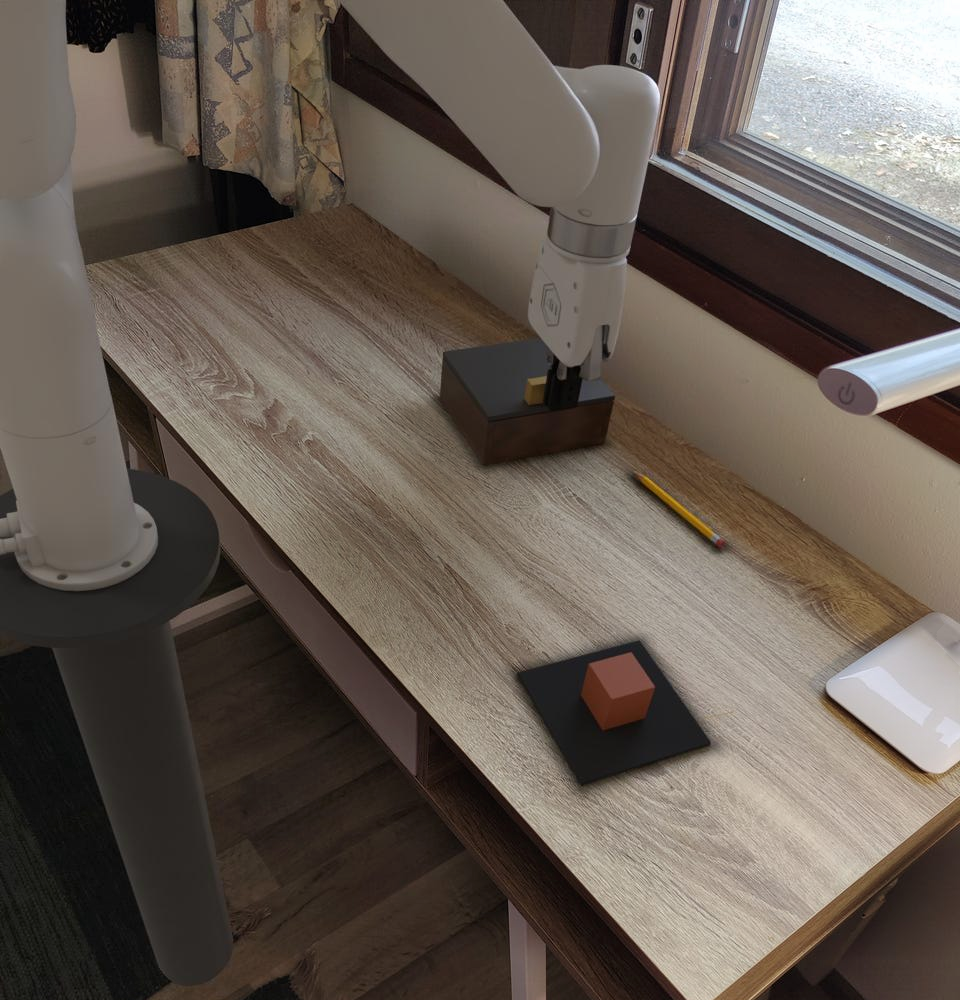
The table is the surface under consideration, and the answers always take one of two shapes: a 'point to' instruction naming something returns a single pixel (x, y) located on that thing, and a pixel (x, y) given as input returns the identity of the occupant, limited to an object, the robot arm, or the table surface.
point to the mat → (619, 746)
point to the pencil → (680, 510)
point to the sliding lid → (513, 378)
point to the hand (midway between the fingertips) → (559, 405)
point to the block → (617, 691)
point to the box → (522, 426)
